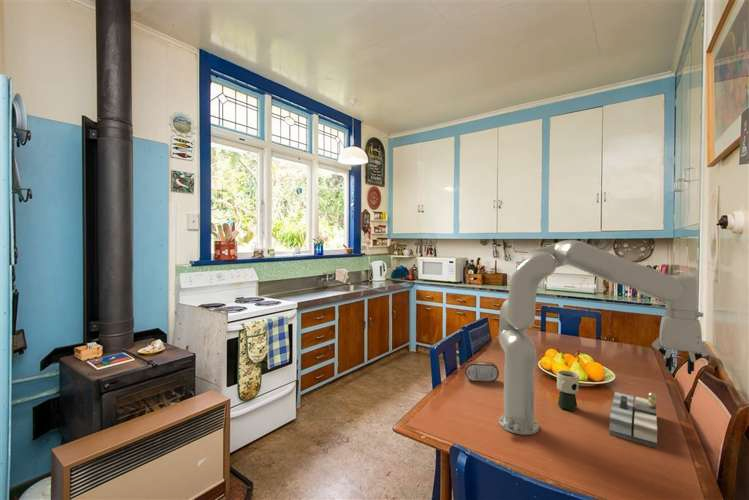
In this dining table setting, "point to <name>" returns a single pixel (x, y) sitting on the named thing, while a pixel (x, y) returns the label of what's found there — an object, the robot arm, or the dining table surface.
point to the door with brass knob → (651, 405)
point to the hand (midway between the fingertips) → (679, 370)
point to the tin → (481, 371)
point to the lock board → (633, 420)
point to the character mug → (567, 389)
